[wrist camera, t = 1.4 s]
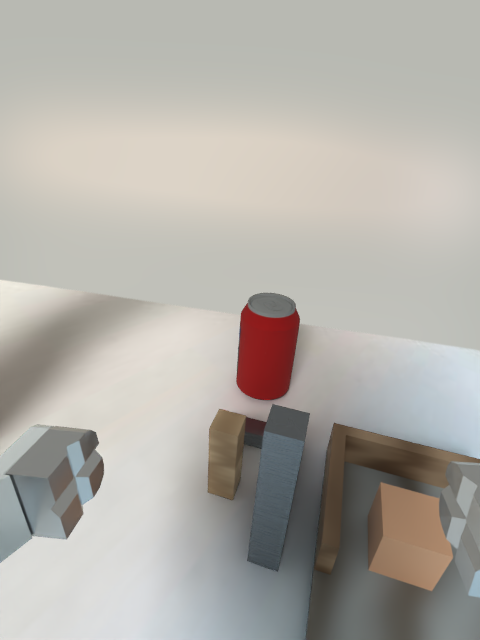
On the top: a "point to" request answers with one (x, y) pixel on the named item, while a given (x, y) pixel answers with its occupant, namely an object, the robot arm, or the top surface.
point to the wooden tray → (352, 548)
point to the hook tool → (274, 479)
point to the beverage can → (267, 345)
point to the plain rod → (225, 453)
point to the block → (407, 537)
